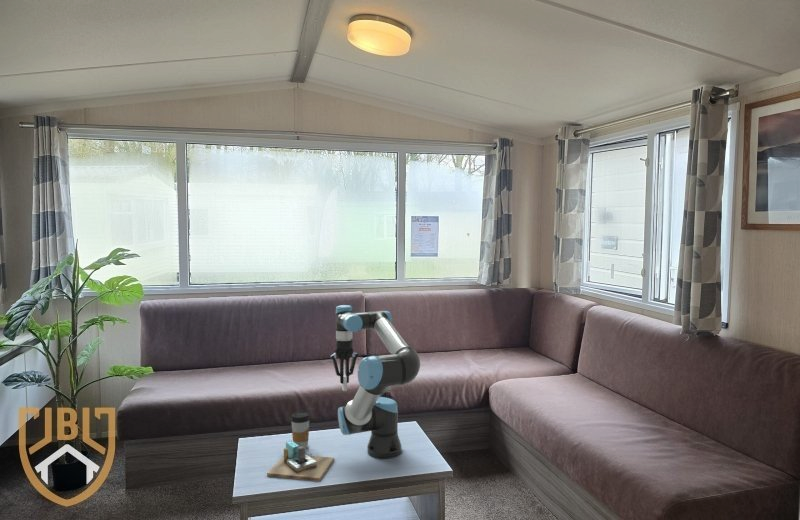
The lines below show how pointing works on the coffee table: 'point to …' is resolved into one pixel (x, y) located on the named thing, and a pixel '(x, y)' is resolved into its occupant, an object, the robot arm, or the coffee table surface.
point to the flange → (294, 458)
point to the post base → (307, 474)
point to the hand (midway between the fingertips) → (344, 390)
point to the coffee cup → (300, 428)
